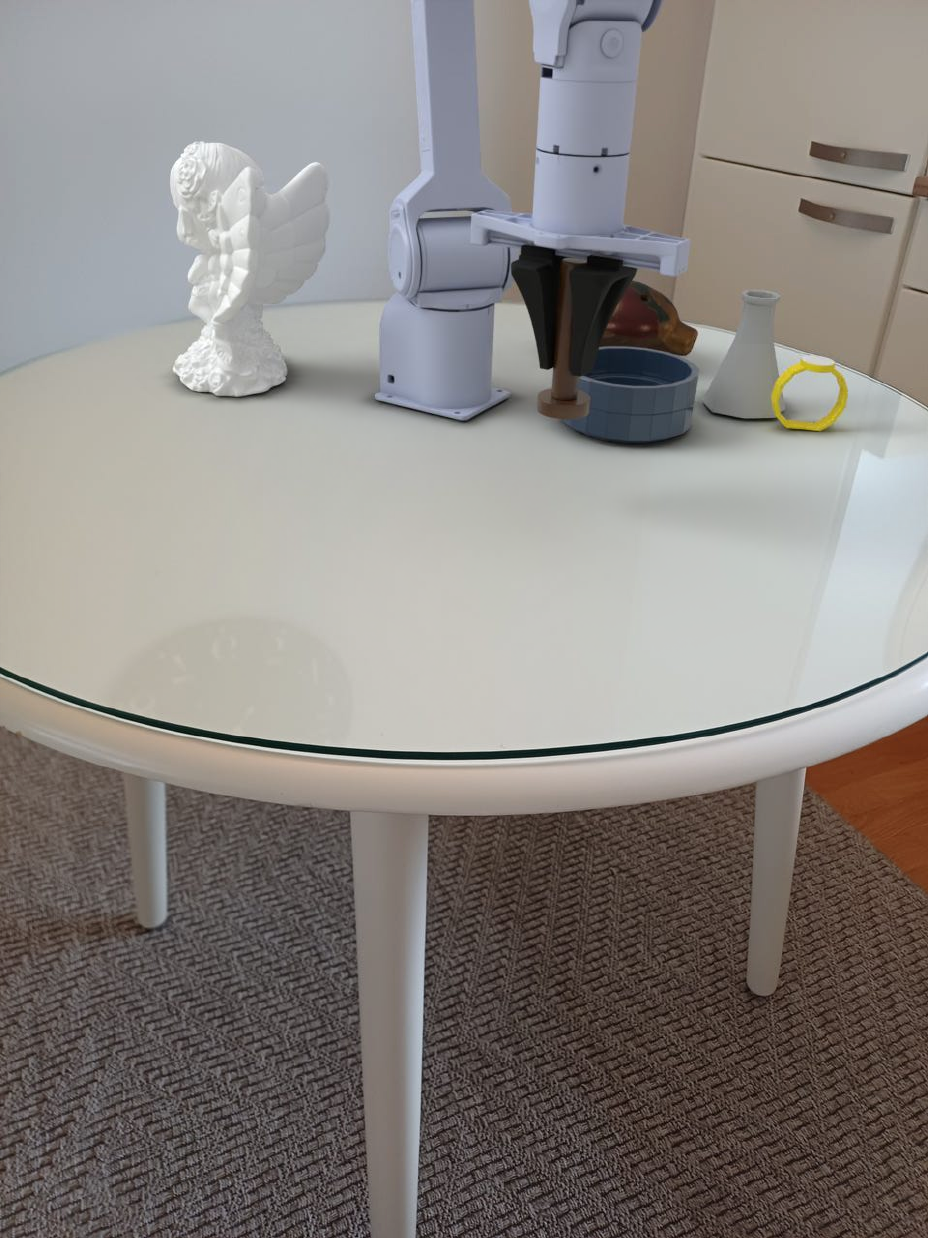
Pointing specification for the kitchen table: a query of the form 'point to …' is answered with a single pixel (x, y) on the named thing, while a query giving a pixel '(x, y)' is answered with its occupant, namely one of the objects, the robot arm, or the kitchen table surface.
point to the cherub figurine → (242, 261)
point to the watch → (818, 366)
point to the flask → (749, 363)
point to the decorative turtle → (648, 323)
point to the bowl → (637, 395)
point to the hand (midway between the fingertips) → (566, 368)
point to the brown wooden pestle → (564, 358)
